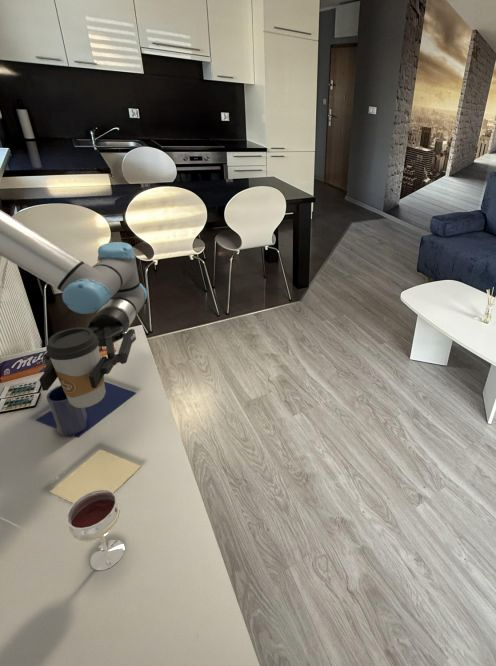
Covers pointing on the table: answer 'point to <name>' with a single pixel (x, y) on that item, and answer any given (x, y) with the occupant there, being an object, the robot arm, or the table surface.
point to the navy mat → (98, 406)
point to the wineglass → (97, 525)
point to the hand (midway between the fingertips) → (68, 383)
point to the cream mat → (96, 476)
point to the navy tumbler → (67, 414)
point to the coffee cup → (76, 364)
